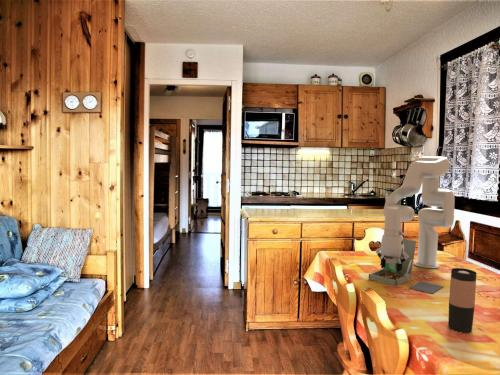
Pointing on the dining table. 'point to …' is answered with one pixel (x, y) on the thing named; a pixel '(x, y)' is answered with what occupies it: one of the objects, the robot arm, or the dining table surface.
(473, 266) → the dining table surface
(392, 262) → the food container
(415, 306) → the dining table surface
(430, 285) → the mat
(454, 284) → the travel mug
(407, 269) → the case
